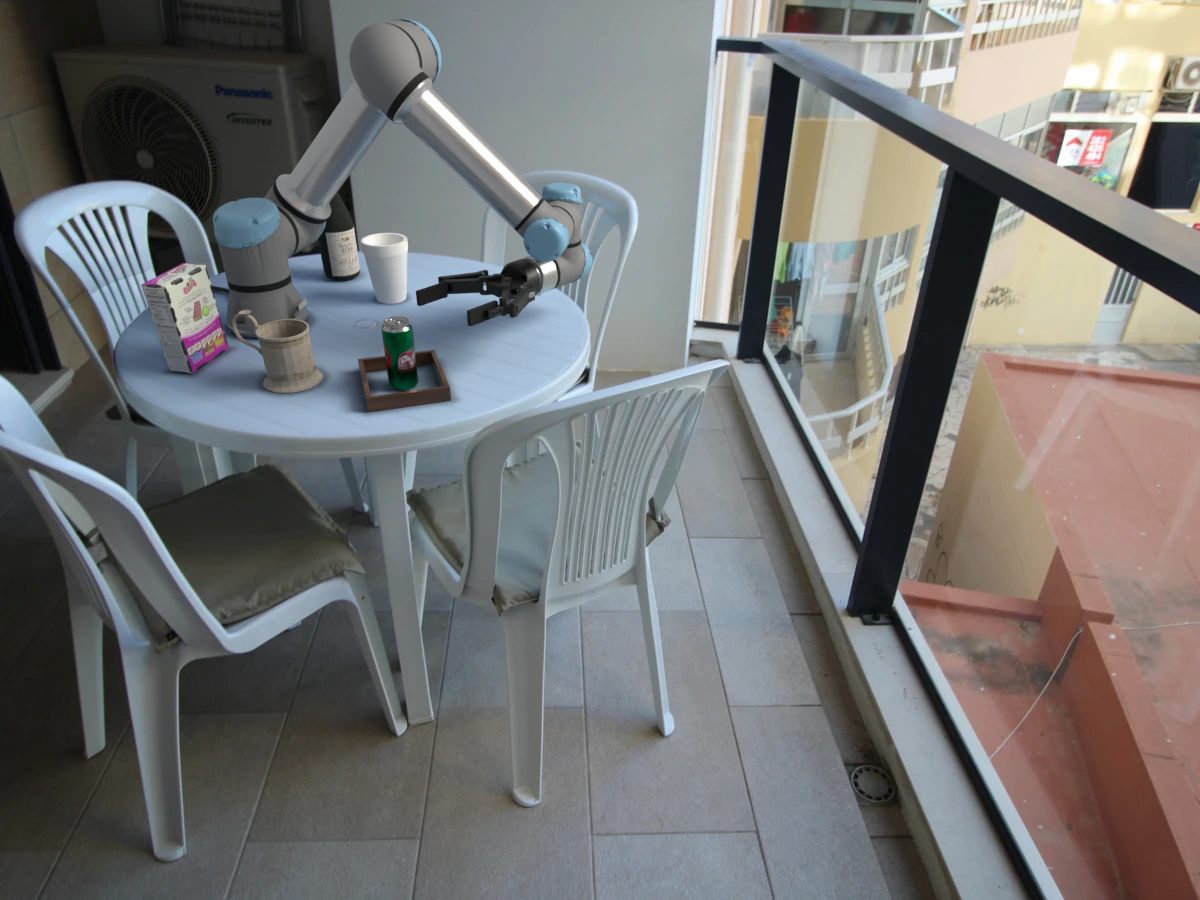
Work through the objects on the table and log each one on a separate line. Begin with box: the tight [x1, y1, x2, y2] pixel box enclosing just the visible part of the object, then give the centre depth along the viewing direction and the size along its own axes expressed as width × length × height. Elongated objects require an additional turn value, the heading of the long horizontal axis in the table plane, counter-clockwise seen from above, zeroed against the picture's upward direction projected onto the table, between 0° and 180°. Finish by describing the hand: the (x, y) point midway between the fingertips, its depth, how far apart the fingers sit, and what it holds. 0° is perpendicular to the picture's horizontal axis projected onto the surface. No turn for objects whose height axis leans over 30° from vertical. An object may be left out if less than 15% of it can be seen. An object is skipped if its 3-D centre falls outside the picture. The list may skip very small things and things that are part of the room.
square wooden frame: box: [357, 349, 452, 413], centre depth 134 cm, size 16×14×2 cm
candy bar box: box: [140, 262, 230, 375], centre depth 137 cm, size 11×5×16 cm, turn 168°
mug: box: [232, 310, 324, 394], centre depth 133 cm, size 14×10×12 cm
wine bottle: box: [317, 191, 361, 282], centre depth 172 cm, size 8×8×30 cm
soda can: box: [380, 315, 419, 392], centre depth 132 cm, size 5×5×12 cm
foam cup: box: [360, 232, 409, 305], centre depth 165 cm, size 10×9×13 cm
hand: (442, 308), depth 135 cm, fingers open, 13 cm apart
